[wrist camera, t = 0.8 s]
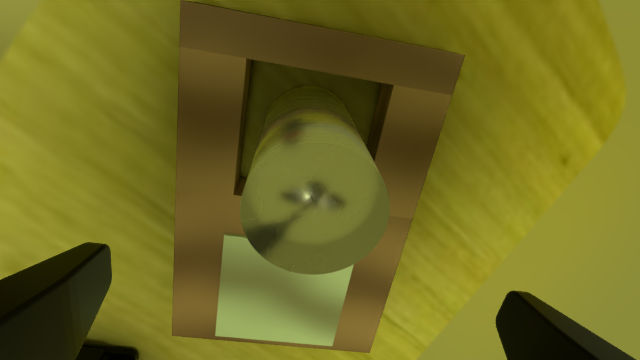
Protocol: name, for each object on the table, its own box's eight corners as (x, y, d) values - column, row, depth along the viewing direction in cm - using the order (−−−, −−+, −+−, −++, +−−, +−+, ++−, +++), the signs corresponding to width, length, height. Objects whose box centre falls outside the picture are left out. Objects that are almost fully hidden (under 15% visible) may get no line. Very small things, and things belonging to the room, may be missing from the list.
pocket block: (363, 326, 25) (370, 355, 23) (182, 308, 24) (170, 338, 21) (446, 50, 18) (466, 55, 16) (194, 2, 17) (179, -1, 14)
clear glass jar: (341, 174, 20) (370, 281, 12) (260, 162, 20) (233, 266, 12) (359, 93, 19) (407, 155, 10) (270, 78, 18) (247, 130, 10)
